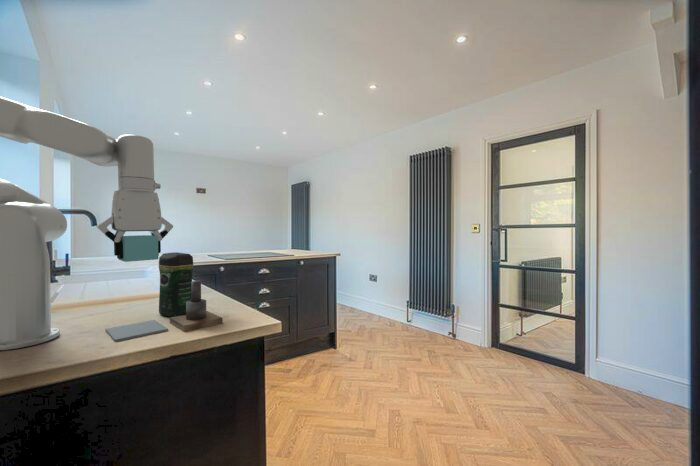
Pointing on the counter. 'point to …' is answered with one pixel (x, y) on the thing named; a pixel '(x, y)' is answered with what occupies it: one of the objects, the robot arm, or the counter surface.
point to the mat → (135, 330)
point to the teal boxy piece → (140, 248)
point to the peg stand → (195, 312)
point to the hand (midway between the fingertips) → (138, 256)
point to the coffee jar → (175, 283)
